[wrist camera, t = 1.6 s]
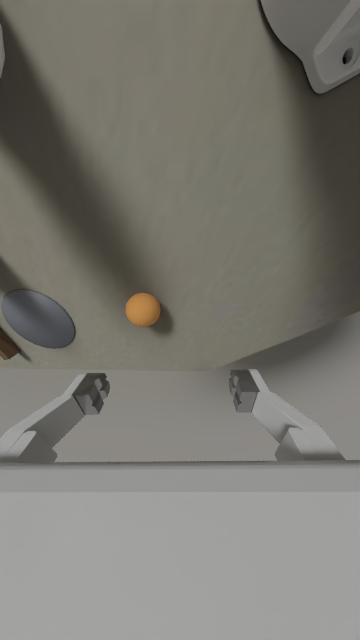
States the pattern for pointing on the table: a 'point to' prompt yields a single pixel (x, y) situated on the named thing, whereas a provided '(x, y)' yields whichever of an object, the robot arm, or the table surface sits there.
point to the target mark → (38, 318)
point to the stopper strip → (7, 347)
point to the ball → (143, 309)
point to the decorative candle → (1, 51)
